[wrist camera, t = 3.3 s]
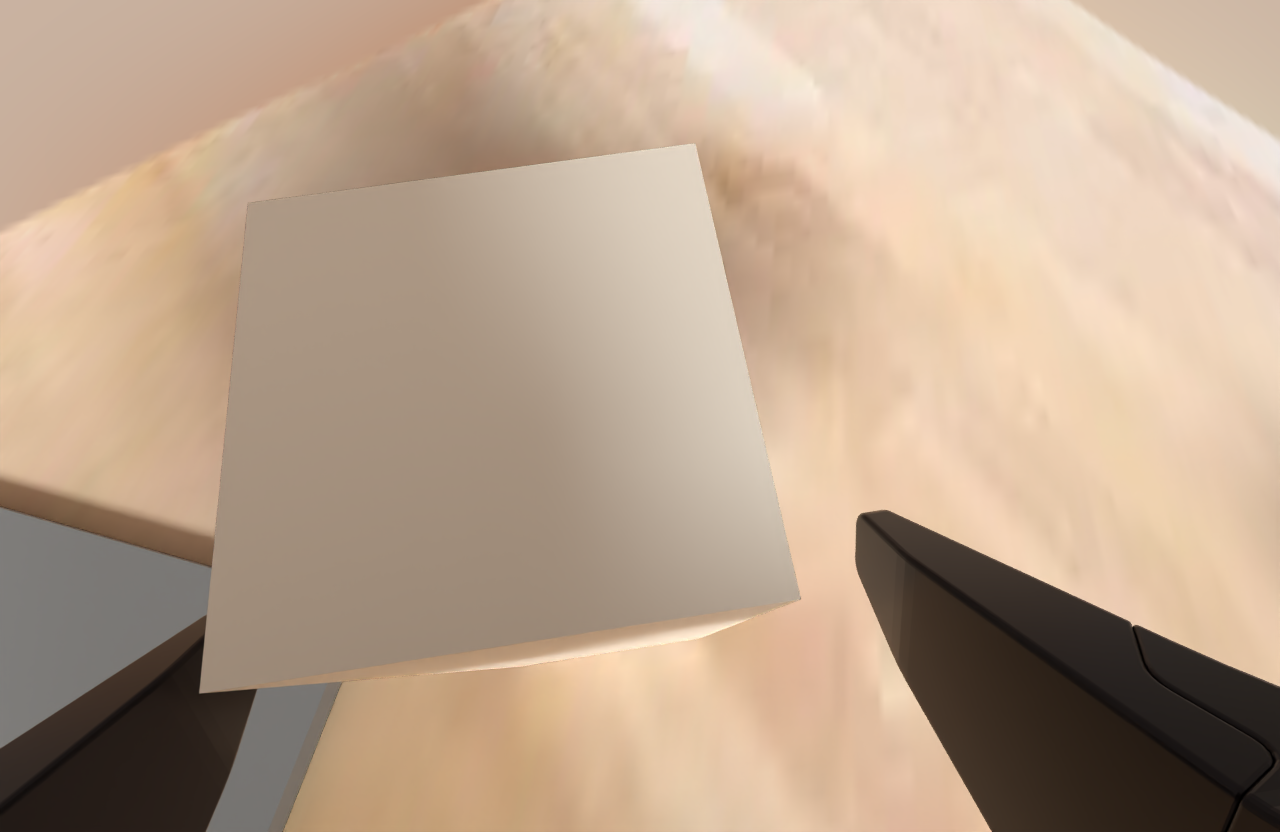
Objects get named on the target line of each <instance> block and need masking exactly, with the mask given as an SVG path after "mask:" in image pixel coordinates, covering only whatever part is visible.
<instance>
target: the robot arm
mask: <svg viewBox="0 0 1280 832" xmlns="http://www.w3.org/2000/svg"><path fill="white" fill-rule="evenodd" d="M855 561H856V568H857V571H858V575H859V577H860V580H861V582H862V584H863V587H864V589H865V591H866V593H867V596H868V598H869V600H870V603H871V605H872V607H873V610H874V612H875V614H876V617H877V619H878V621H879V624H880V626H881V628H882V631H883V633H884V635H885V638H886V640H887V642H888V645H889V647H890V649H891V652H892V654H893V656H894V658H895V660H896V663H897V665H898V667H899V669H900V671H901V672H902V674H903V676H904V678H905V680H906V682H907V683H908V685H909V687H910V689H911V691H912V692H913V694H914V696H915V698H916V699H917V701H918V703H919V705H920V706H921V708H922V710H923V712H924V713H925V715H926V717H927V719H928V720H929V722H930V724H931V726H932V727H933V729H934V731H935V733H936V734H937V736H938V738H939V740H940V741H941V743H942V745H943V747H944V749H945V750H946V752H947V754H948V756H949V757H950V759H951V761H952V763H953V764H954V766H955V768H956V770H957V771H958V773H959V775H960V777H961V778H962V780H963V782H964V784H965V785H966V787H967V789H968V791H969V792H970V794H971V796H972V798H973V799H974V801H975V803H976V805H977V807H978V808H979V810H980V812H981V814H982V815H983V817H984V819H985V821H986V822H987V824H988V826H989V828H990V829H991V831H992V832H1280V687H1279V686H1277V685H1274V684H1272V683H1269V682H1267V681H1265V680H1262V679H1260V678H1257V677H1255V676H1252V675H1250V674H1247V673H1245V672H1243V671H1240V670H1238V669H1235V668H1233V667H1230V666H1228V665H1226V664H1223V663H1221V662H1219V661H1217V660H1214V659H1212V658H1210V657H1207V656H1205V655H1203V654H1201V653H1198V652H1196V651H1194V650H1192V649H1189V648H1187V647H1185V646H1183V645H1180V644H1178V643H1176V642H1174V641H1171V640H1169V639H1167V638H1165V637H1163V636H1160V635H1158V634H1156V633H1154V632H1152V631H1150V630H1147V629H1145V628H1143V627H1141V626H1139V625H1134V626H1133V627H1132V624H1131V623H1130V622H1129V621H1128V620H1125V619H1123V618H1121V617H1119V616H1117V615H1115V614H1112V613H1110V612H1108V611H1106V610H1104V609H1101V608H1099V607H1097V606H1095V605H1093V604H1091V603H1088V602H1086V601H1084V600H1082V599H1080V598H1078V597H1075V596H1073V595H1071V594H1069V593H1067V592H1065V591H1062V590H1060V589H1058V588H1056V587H1054V586H1051V585H1049V584H1047V583H1045V582H1043V581H1041V580H1038V579H1036V578H1034V577H1032V576H1030V575H1028V574H1025V573H1023V572H1021V571H1019V570H1017V569H1014V568H1012V567H1010V566H1008V565H1006V564H1004V563H1001V562H999V561H997V560H995V559H993V558H991V557H988V556H986V555H984V554H982V553H980V552H978V551H975V550H973V549H971V548H969V547H967V546H964V545H962V544H960V543H958V542H956V541H954V540H951V539H949V538H947V537H945V536H943V535H941V534H938V533H936V532H934V531H932V530H930V529H928V528H925V527H923V526H921V525H919V524H917V523H914V522H912V521H910V520H908V519H906V518H904V517H901V516H899V515H897V514H895V513H893V512H890V511H888V510H879V511H873V512H866V513H861V514H860V515H859V516H858V518H857V522H856V552H855ZM206 620H207V615H205V616H203V617H201V618H200V619H198V620H197V621H195V622H194V623H192V624H191V625H189V626H188V627H186V628H185V629H183V630H181V631H180V632H178V633H177V634H175V635H174V636H172V637H171V638H169V639H168V640H166V641H165V642H163V643H161V644H160V645H158V646H157V647H155V648H154V649H152V650H151V651H149V652H148V653H146V654H145V655H143V656H141V657H140V658H138V659H137V660H135V661H134V662H132V663H131V664H129V665H128V666H126V667H125V668H123V669H121V670H120V671H118V672H117V673H115V674H114V675H112V676H111V677H109V678H108V679H106V680H105V681H103V682H101V683H100V684H98V685H97V686H95V687H94V688H92V689H91V690H89V691H88V692H86V693H85V694H83V695H81V696H80V697H78V698H77V699H75V700H74V701H72V702H71V703H69V704H68V705H66V706H65V707H63V708H61V709H60V710H58V711H57V712H55V713H54V714H52V715H51V716H49V717H48V718H46V719H45V720H43V721H41V722H40V723H38V724H37V725H35V726H34V727H32V728H31V729H29V730H28V731H26V732H25V733H23V734H21V735H20V736H18V737H17V738H15V739H14V740H12V741H11V742H9V743H8V744H6V745H5V746H3V747H1V748H0V832H206V831H207V828H208V826H209V824H210V821H211V819H212V817H213V814H214V812H215V810H216V807H217V805H218V802H219V800H220V798H221V795H222V793H223V791H224V788H225V786H226V783H227V780H228V778H229V775H230V773H231V770H232V767H233V764H234V761H235V758H236V755H237V752H238V749H239V746H240V743H241V740H242V736H243V733H244V730H245V727H246V724H247V721H248V717H249V714H250V711H251V708H252V705H253V701H254V698H255V695H256V692H257V689H247V690H235V691H223V692H211V693H199V691H200V681H201V671H202V660H203V650H204V640H205V630H206Z"/></svg>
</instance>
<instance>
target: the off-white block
mask: <svg viewBox="0 0 1280 832" xmlns="http://www.w3.org/2000/svg"><path fill="white" fill-rule="evenodd" d="M800 599H801V597H800V593H799V589H798V584H797V580H796V576H795V571H794V567H793V563H792V558H791V554H790V550H789V545H788V541H787V537H786V532H785V528H784V524H783V520H782V515H781V511H780V507H779V502H778V498H777V494H776V489H775V485H774V481H773V476H772V472H771V468H770V463H769V459H768V455H767V451H766V446H765V442H764V438H763V433H762V429H761V425H760V420H759V416H758V412H757V407H756V403H755V399H754V395H753V390H752V386H751V382H750V377H749V373H748V369H747V364H746V360H745V356H744V351H743V347H742V343H741V338H740V334H739V330H738V326H737V321H736V317H735V313H734V308H733V304H732V300H731V295H730V291H729V287H728V282H727V278H726V274H725V269H724V265H723V261H722V257H721V252H720V248H719V244H718V239H717V235H716V231H715V226H714V222H713V218H712V213H711V209H710V205H709V201H708V196H707V192H706V188H705V183H704V179H703V175H702V170H701V166H700V162H699V157H698V153H697V149H696V144H695V143H692V144H685V145H677V146H670V147H662V148H655V149H647V150H640V151H633V152H625V153H618V154H610V155H603V156H595V157H588V158H580V159H573V160H565V161H558V162H550V163H543V164H535V165H528V166H520V167H513V168H505V169H498V170H491V171H483V172H476V173H468V174H461V175H453V176H446V177H438V178H431V179H423V180H416V181H408V182H401V183H393V184H386V185H378V186H371V187H363V188H356V189H349V190H341V191H334V192H326V193H319V194H311V195H304V196H296V197H289V198H281V199H274V200H266V201H259V202H251V203H248V207H247V217H246V227H245V237H244V247H243V257H242V267H241V277H240V287H239V297H238V307H237V317H236V328H235V338H234V348H233V358H232V368H231V378H230V388H229V398H228V408H227V418H226V428H225V439H224V449H223V459H222V469H221V479H220V489H219V499H218V509H217V519H216V529H215V539H214V549H213V560H212V570H211V580H210V590H209V600H208V610H207V620H206V630H205V640H204V650H203V660H202V671H201V681H200V691H199V693H211V692H223V691H235V690H247V689H259V688H271V687H283V686H295V685H307V684H319V683H331V682H343V681H355V680H367V679H379V678H391V677H403V676H415V675H427V674H438V673H450V672H462V671H474V670H486V669H498V668H510V667H522V666H528V665H535V664H541V663H547V662H554V661H560V660H566V659H573V658H579V657H585V656H592V655H598V654H604V653H611V652H617V651H623V650H630V649H636V648H642V647H649V646H655V645H661V644H668V643H674V642H680V641H687V640H693V639H699V638H702V637H705V636H707V635H710V634H713V633H715V632H718V631H720V630H723V629H726V628H728V627H731V626H733V625H736V624H738V623H741V622H744V621H746V620H749V619H751V618H754V617H757V616H759V615H762V614H764V613H767V612H769V611H772V610H775V609H777V608H780V607H782V606H785V605H788V604H790V603H793V602H795V601H798V600H800Z"/></svg>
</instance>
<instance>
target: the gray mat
mask: <svg viewBox="0 0 1280 832" xmlns="http://www.w3.org/2000/svg"><path fill="white" fill-rule="evenodd" d="M211 570H212V567H211V566H207V565H204V564H200V563H197V562H193V561H190V560H186V559H183V558H179V557H176V556H172V555H169V554H165V553H162V552H158V551H155V550H151V549H148V548H144V547H141V546H137V545H134V544H130V543H127V542H123V541H120V540H116V539H113V538H109V537H106V536H102V535H99V534H95V533H92V532H88V531H85V530H81V529H78V528H74V527H71V526H67V525H64V524H60V523H57V522H53V521H50V520H46V519H43V518H39V517H36V516H32V515H29V514H25V513H22V512H18V511H15V510H11V509H8V508H4V507H1V506H0V748H1V747H3V746H5V745H6V744H8V743H9V742H11V741H12V740H14V739H15V738H17V737H18V736H20V735H21V734H23V733H25V732H26V731H28V730H29V729H31V728H32V727H34V726H35V725H37V724H38V723H40V722H41V721H43V720H45V719H46V718H48V717H49V716H51V715H52V714H54V713H55V712H57V711H58V710H60V709H61V708H63V707H65V706H66V705H68V704H69V703H71V702H72V701H74V700H75V699H77V698H78V697H80V696H81V695H83V694H85V693H86V692H88V691H89V690H91V689H92V688H94V687H95V686H97V685H98V684H100V683H101V682H103V681H105V680H106V679H108V678H109V677H111V676H112V675H114V674H115V673H117V672H118V671H120V670H121V669H123V668H125V667H126V666H128V665H129V664H131V663H132V662H134V661H135V660H137V659H138V658H140V657H141V656H143V655H145V654H146V653H148V652H149V651H151V650H152V649H154V648H155V647H157V646H158V645H160V644H161V643H163V642H165V641H166V640H168V639H169V638H171V637H172V636H174V635H175V634H177V633H178V632H180V631H181V630H183V629H185V628H186V627H188V626H189V625H191V624H192V623H194V622H195V621H197V620H198V619H200V618H201V617H203V616H205V615H207V610H208V600H209V590H210V580H211ZM341 683H342V682H331V683H319V684H307V685H295V686H283V687H271V688H259V689H257V692H256V695H255V698H254V701H253V705H252V708H251V711H250V714H249V717H248V721H247V724H246V727H245V730H244V733H243V736H242V740H241V743H240V746H239V749H238V752H237V755H236V758H235V761H234V764H233V767H232V770H231V773H230V775H229V778H228V780H227V783H226V786H225V788H224V791H223V793H222V795H221V798H220V800H219V802H218V805H217V807H216V810H215V812H214V814H213V817H212V819H211V821H210V824H209V826H208V828H207V831H206V832H283V830H284V827H285V824H286V822H287V819H288V817H289V814H290V812H291V809H292V807H293V804H294V802H295V799H296V797H297V794H298V792H299V789H300V787H301V784H302V781H303V779H304V776H305V774H306V771H307V769H308V766H309V764H310V761H311V759H312V756H313V754H314V751H315V749H316V746H317V744H318V741H319V738H320V736H321V733H322V731H323V728H324V726H325V723H326V721H327V718H328V716H329V713H330V711H331V708H332V706H333V703H334V701H335V698H336V695H337V693H338V690H339V688H340V685H341Z"/></svg>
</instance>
